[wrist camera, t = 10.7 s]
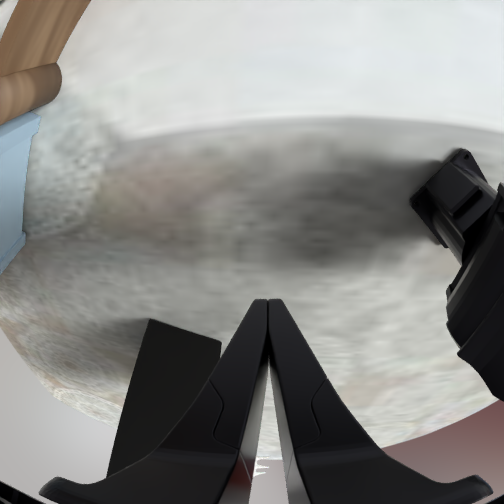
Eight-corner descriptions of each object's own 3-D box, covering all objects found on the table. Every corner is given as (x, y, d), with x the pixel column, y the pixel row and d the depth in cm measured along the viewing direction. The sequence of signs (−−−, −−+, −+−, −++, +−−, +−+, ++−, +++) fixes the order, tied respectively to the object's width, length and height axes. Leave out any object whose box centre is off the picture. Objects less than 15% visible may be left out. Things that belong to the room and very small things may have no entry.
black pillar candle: (201, 374, 36) (175, 596, 14) (139, 354, 34) (91, 578, 12) (222, 340, 32) (197, 616, 9) (149, 316, 30) (86, 596, 7)
